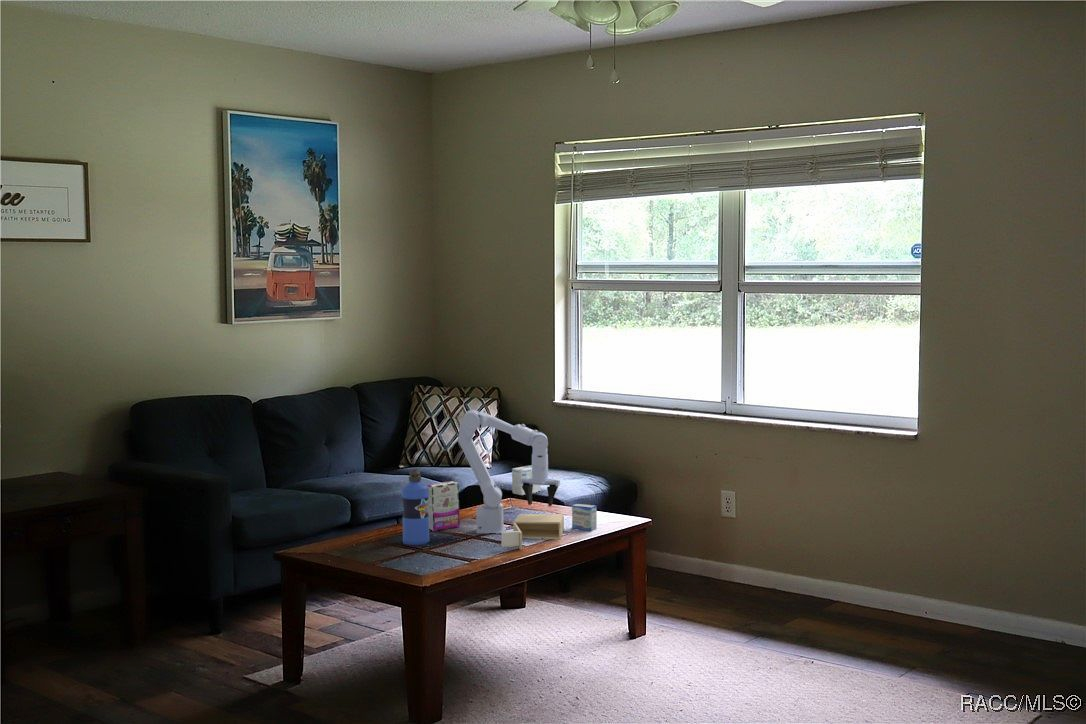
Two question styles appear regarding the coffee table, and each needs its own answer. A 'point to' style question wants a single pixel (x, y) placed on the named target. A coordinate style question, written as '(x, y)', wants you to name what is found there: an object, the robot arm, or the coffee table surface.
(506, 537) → the cream block
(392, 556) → the coffee table surface
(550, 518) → the carton
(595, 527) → the medicine box
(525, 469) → the light bulb box
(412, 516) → the water bottle
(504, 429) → the robot arm
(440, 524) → the candy bar box
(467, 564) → the coffee table surface
